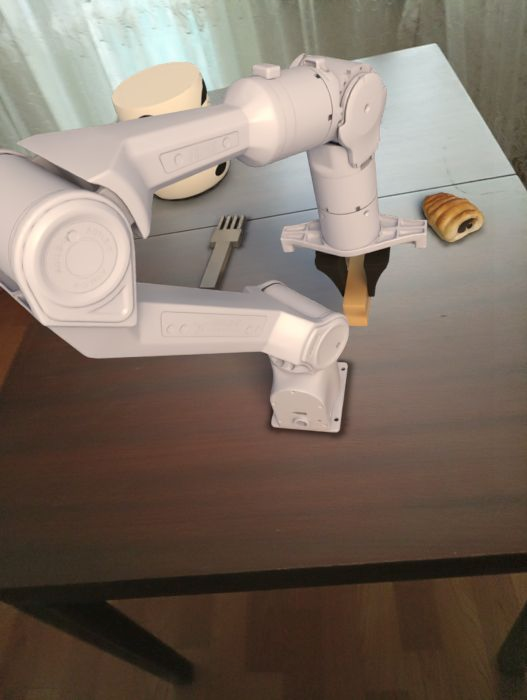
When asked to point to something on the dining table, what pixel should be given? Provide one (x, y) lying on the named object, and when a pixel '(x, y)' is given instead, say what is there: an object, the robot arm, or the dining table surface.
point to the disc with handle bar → (356, 292)
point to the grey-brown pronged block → (222, 249)
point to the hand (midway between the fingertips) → (359, 290)
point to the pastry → (451, 216)
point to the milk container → (166, 97)
